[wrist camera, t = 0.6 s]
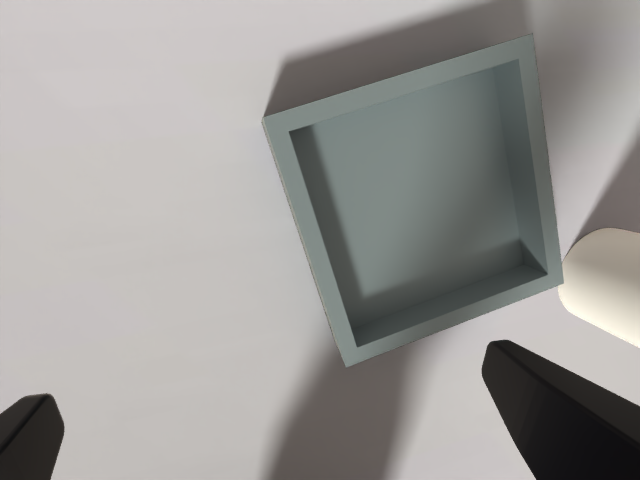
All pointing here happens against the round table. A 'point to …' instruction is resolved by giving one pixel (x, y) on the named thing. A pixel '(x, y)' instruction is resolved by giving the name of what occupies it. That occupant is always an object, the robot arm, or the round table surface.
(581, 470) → the robot arm
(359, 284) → the tray
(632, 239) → the cylindrical container
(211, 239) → the round table surface
